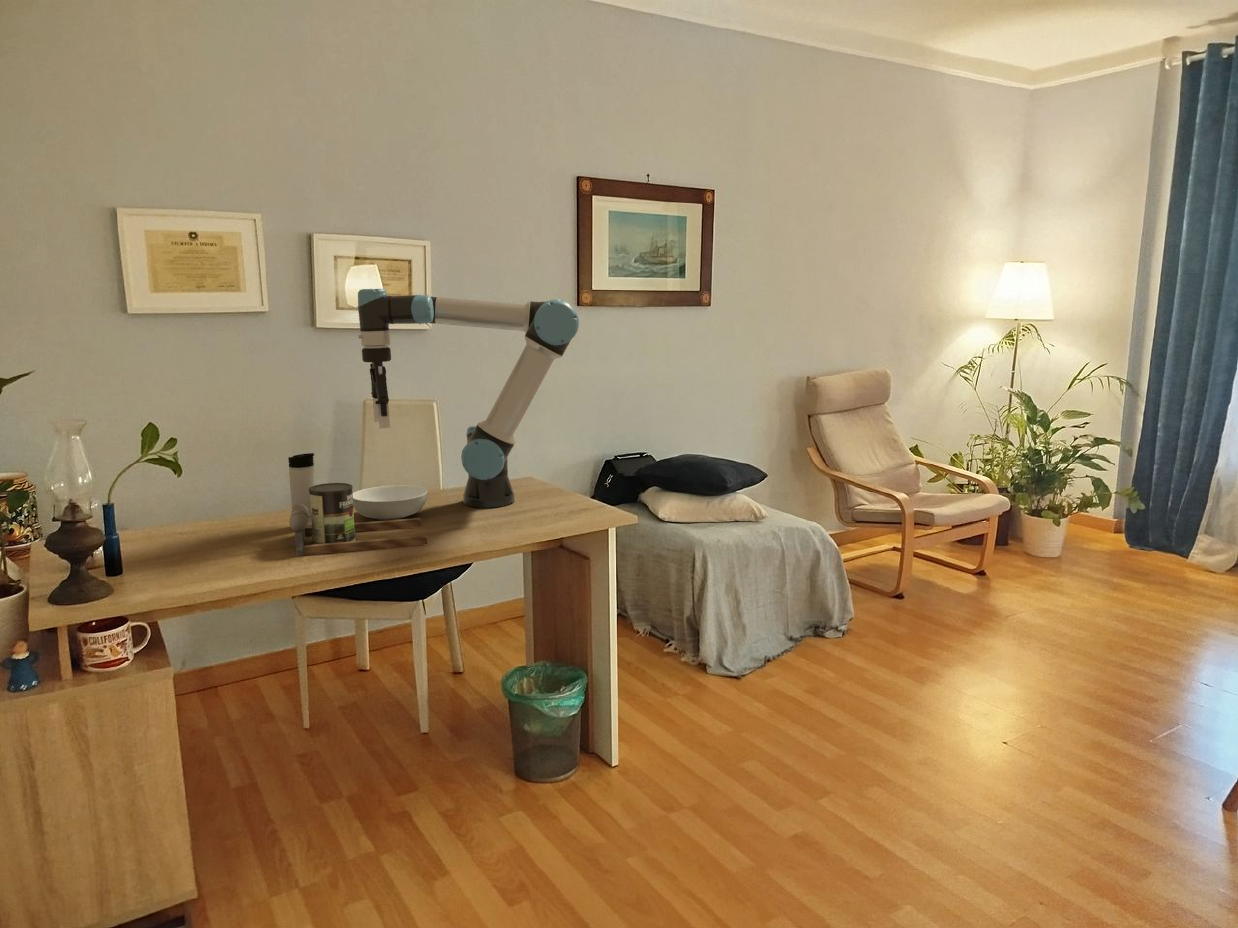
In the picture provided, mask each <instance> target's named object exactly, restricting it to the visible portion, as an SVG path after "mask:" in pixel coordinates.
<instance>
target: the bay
mask: <svg viewBox="0 0 1238 928" xmlns="http://www.w3.org/2000/svg"><path fill="white" fill-rule="evenodd" d="M307 520H308V508H307V506H305V505H304V504H297V505H295V506H294V507H293V508H292V507H291V513H290V516H289V528H290V529H291V530H292V531H294V543H295V555H296V557H299V556H300V557H301V556H309V555H320V554H332V553H333V554H334V553H343V552H345V553H346V552H352V551H353V552H357V551H368V550H369V551H370V550H378V549H379V550H380V549H388V548H390V549H391V548H401V547H403V548H404V547H412V546H413V545H415V546H423V544H427V545H428V535H427V534H421V535H411V536H410V535H409V536H399V537H398V536H397V537H389V538H388V537H385V538H376V539H364V540H363V539H362V540H355V541H350V542H338V543H326V544H305V541H306V537H309V536H311V537H312V536H313V533H312V526H310V527H306V526H307ZM421 523H422V521H421V518H420V517H418V518H417V517H414V518H401V519H396V520H378V521H376V520H375V521H365V522H362V521H361V522H354V527H355V533H358V531H360V532H369V531H370V532H371V531H373V532H374V531H383V530H385V531H386V530H395V529H408V528H421V527H422V525H421ZM413 547H414V546H413Z"/></svg>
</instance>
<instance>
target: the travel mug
mask: <svg viewBox="0 0 1238 928" xmlns="http://www.w3.org/2000/svg"><path fill="white" fill-rule="evenodd" d="M314 456H315V453H314V452H310V453H309V452H307V453H302V454H301V453H300V454H296V455H295V454H294V455H293V456H289V457H288V458H287V460H288V475H289V477H288V478H289V484H290V485H289V487H290V498H291V499H290V500H291V503H290V504H291V509H292V508H293V507H294V506H295V505H297V504H304V505H305V506H307V508H308V520H307V526H306V527H310V526H312V519H311V506H310V492H309V488H310V487H312V486H315V485H316V475H315V471H316V470H315V463H314V462H315V461H314Z"/></svg>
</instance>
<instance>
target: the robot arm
mask: <svg viewBox="0 0 1238 928" xmlns="http://www.w3.org/2000/svg"><path fill="white" fill-rule="evenodd" d="M357 310H358V320H359V330H360V334H359V335H358V336H357V337H358V339H359V340H360V339H361V340H360V343H361V346H362V349H361V356H362V362H363V363H370V364H369V366H370V368H369V374H370V381H371V382H370V383H371V392H370V394H371V397H372V407H373V418H374V419H373V420H374V422H375V423H378V426H379V427H378V428H379V429H390V428H391V424H390V409H389V401H390V399H389V392H388V391H389V390H388V386H387V385H388V384H387V383H388V382H387V370H386V369H387V368H386V367H385V366H384V365H383V363H385V362H390V361H391V360H392V351H391V348H390V347H389V346H390V345H391V336H390V335H391V334H390V329H389V326H390V325H406V324H407V325H409V324H410V325H411V324H415V325H416V324H418V325H421V324H422V325H423V324H437V325H447V326H461V327H471V328H473V327H474V328H484V329H494V330H495V329H497V330H507V331H519V332H524V333H525V335H524V339H525V343H526V344H525V346H524V348H523V350H522V352H521V354H520V355H519V357H518V359H517V361H516V363H515V365H514V367H513V368H512V371H511V373H510V374H509V376H508V378H507V379H506V381H505V384H504V386H503V387H502V390H501V391H500V393H499V395H498V396H497V399H496V400H495V402H494V404H493V406H492V408H491V409H490V412H489V413H488V415H487V418H486V419H485V420H483V421H482V420H481V421H479V422H477V424H476V425H474V426H473V425H470V426H468V428H467V430H466V435H465V436H466V442H467V443H466V444H465V446H464V447H463V449H462V450H461V456H460V458H461V459H460V460H461V463H462V467H463V468H464V469H463V470H464V471H465V472H466V473H467V474H468V478H467V482H466V485H465V487H464V492H463V494H462V495H463V496H462V497H463V498H462V500H463V504H464V505H465V506H468V507H473V508H498V507H505V506H509V505H511V503H512V504H513V503H514V502H515V492H514V490H513V487H512V484H511V481H510V478H509V471H508V470H509V466H508V465H509V464H508V461H509V459H508V456H509V455H510V453H511V452H512V450H513V448H514V445H515V443H516V441H515V437H514V435H515V432H516V430H517V429H518V427H519V425H520V423H521V421H522V419H523V418H524V416H525V415H526V413H527V410H528V408H529V407H530V405H531V404H532V401H533V400H534V397H535V395H536V393H537V392H538V391H539V388H540V387H541V385H542V383H543V382H544V381H543V380H544V379H545V377H546V375H547V373H548V371H549V370H550V368H551V366H552V364H553V362H554V361H555V360H556V359H560V358H562V357H563V356H564V354H565V352H566V350H567V349H568V346H569V345H570V343H571V341H572V339H574V338H575V336H576V335H577V333H578V331H579V330H578V329H579V326H580V321H579V315H578V313H577V311H576V309H575V308H574V307H573V305H572V304H570V303H568V302H567V301H564V300H563V299H550V300H546V301H533V300H531V301H530V300H529V301H528V302H527V303H525V304H524V303H523V304H522V303H514V302H513V303H511V302H499V301H490V300H475V299H466V298H464V299H463V298H454V297H453V298H452V297H451V298H450V297H439V296H438V297H437V296H431V295H429V294H428V295H427V294H426V295H425V294H414V295H411V294H410V295H407V294H406V295H388V294H387V291H386V289H385V288H362V289H359V291H358V292H357Z"/></svg>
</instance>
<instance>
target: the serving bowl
mask: <svg viewBox="0 0 1238 928" xmlns="http://www.w3.org/2000/svg"><path fill="white" fill-rule="evenodd" d="M428 493H429V492H428V489H427V488H425V487H422V486H418V485H404V484H402V485H400V484H399V485H380V486H376V487H375V486H374V487H368V488H363V489H360V490H357V491H354V492H352V494H353V509H354V510H355V511H356V512H357V513H358V514H360V515H361V516H363V517H365V518H369V519H373V520H374V519H375V520H378V521H388V520H401V519H405V518H406V517H409V516H412V515H414V514H416V513H418V512H420V511H421V510H422V509H423V508H424V507H425V504H426V502H427V499H428Z"/></svg>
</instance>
